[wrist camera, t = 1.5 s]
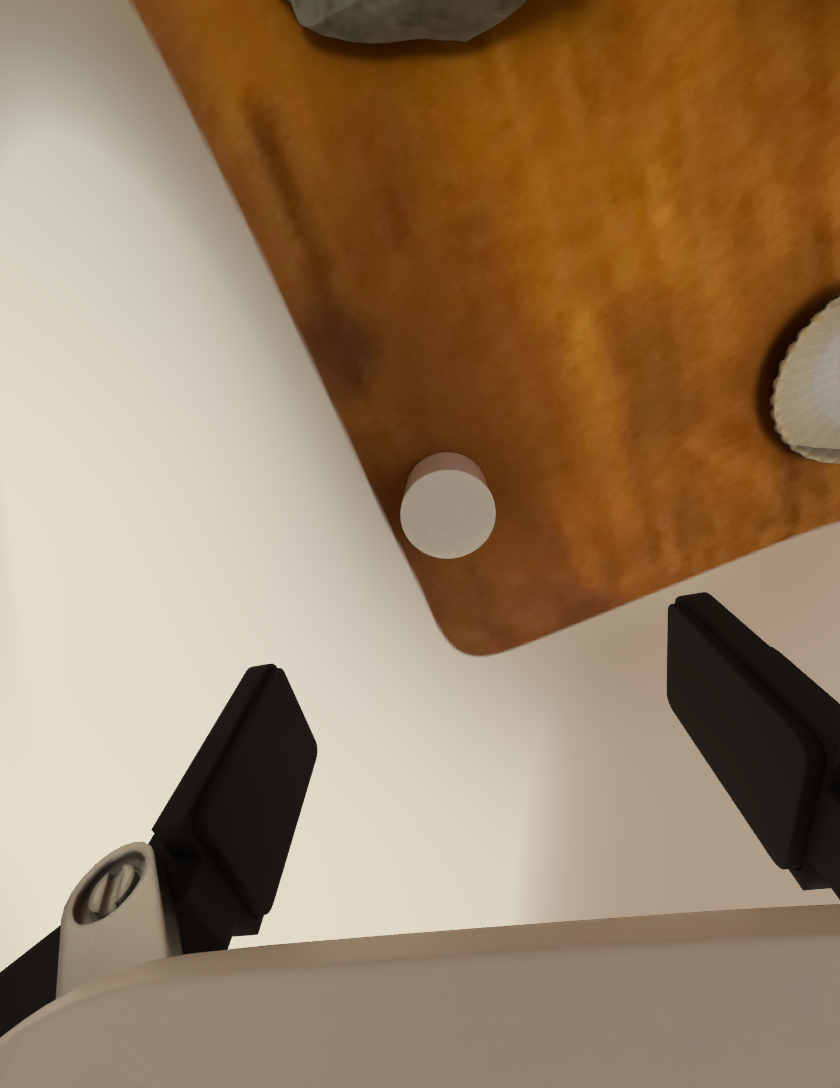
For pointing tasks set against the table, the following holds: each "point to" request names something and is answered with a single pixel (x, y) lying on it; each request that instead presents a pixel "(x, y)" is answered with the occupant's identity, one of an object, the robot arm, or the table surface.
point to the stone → (402, 18)
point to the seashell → (811, 389)
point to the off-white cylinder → (447, 506)
